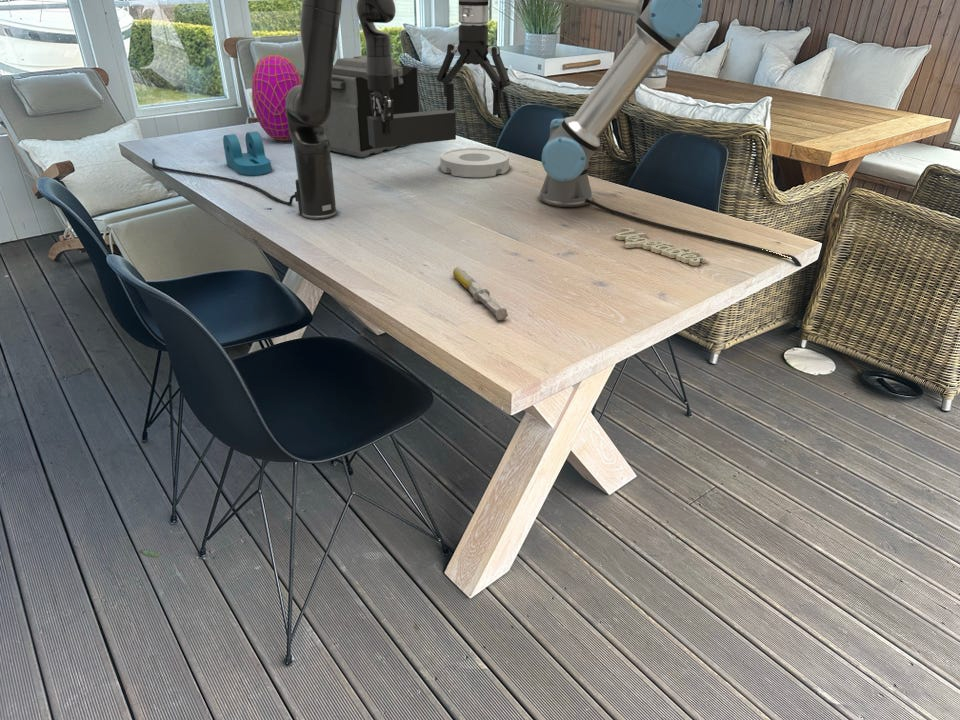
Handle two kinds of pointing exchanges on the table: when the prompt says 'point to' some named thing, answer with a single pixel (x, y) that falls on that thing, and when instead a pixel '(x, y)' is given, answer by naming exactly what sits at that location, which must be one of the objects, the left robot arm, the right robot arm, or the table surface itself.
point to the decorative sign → (659, 247)
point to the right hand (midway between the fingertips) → (472, 112)
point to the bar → (413, 128)
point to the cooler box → (364, 104)
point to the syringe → (479, 293)
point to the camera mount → (246, 154)
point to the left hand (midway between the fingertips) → (383, 132)
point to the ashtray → (474, 162)
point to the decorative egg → (273, 94)
